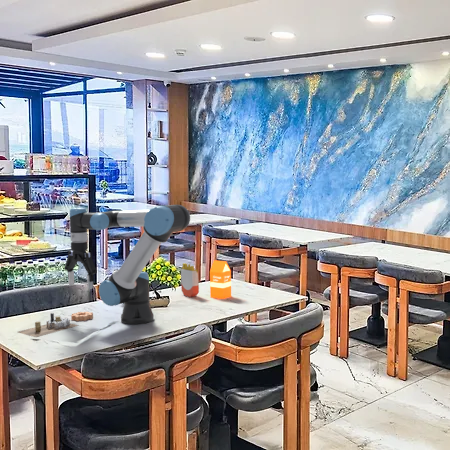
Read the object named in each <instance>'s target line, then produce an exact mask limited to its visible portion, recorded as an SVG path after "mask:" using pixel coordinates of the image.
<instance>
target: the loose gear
mask: <svg viewBox="0 0 450 450" xmlns="http://www.w3.org/2000/svg"><path fill="white" fill-rule="evenodd" d="M70 316H71V320H72V321H75V322H79V321H80V322H81V321H84V322H85V321H88V320H92V319H93V318H94V313H93V312H90V311H78V312H74V313H71V315H70Z"/></svg>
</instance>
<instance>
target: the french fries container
mask: <svg viewBox="0 0 450 450" xmlns="http://www.w3.org/2000/svg"><path fill="white" fill-rule="evenodd" d="M180 274H181V275H180V276H181V277H180V279H181V284H180V286H181V287H180V289H181V292H182V294H183V295H185V297H189V298H192V297H197V295H198V294H199V292H200V290H199V289H200V285H199V269H195V266H194V265H191V264H188V263H182V267H181V268H180Z"/></svg>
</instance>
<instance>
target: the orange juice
mask: <svg viewBox="0 0 450 450" xmlns="http://www.w3.org/2000/svg"><path fill="white" fill-rule="evenodd" d="M209 283H210V284H209V287H210V291H209V293H210V298H213V299H219V300H220V299H221V300H225V299H228V298H232V270H231V268H230V266H229V264H228V261H227V260H226V261H225V260H215V259H214V260H213V262H212V264H211V266H210V270H209Z"/></svg>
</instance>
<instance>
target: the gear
mask: <svg viewBox="0 0 450 450" xmlns="http://www.w3.org/2000/svg"><path fill="white" fill-rule="evenodd" d="M70 323H71V321H70V319H69V318H68V317H65V318H64V317H63V318H62V317H61V321H58V322H56V318H55V314H54V312H50V320H46V324H47V327H48V328H49V329H51V328H55V329H59V328H66V327H67V326H70Z"/></svg>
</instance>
